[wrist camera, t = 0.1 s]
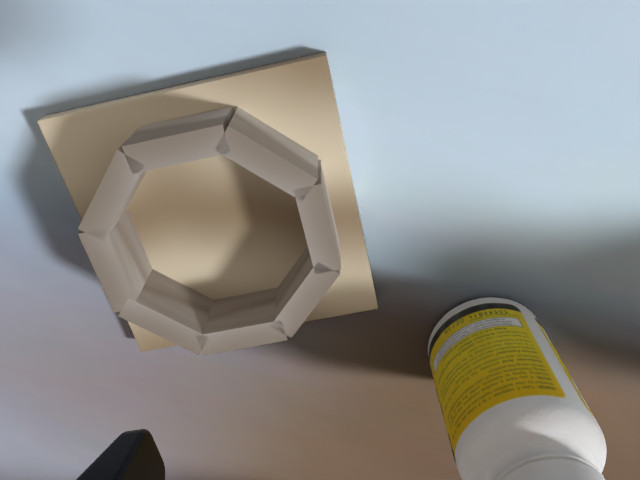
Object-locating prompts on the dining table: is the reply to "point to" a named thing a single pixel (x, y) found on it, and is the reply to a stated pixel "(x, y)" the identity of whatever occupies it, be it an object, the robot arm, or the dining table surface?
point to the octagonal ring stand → (218, 206)
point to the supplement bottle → (510, 397)
